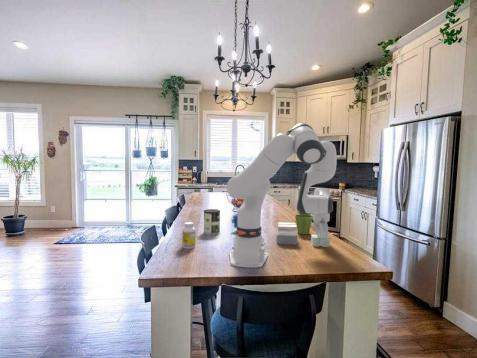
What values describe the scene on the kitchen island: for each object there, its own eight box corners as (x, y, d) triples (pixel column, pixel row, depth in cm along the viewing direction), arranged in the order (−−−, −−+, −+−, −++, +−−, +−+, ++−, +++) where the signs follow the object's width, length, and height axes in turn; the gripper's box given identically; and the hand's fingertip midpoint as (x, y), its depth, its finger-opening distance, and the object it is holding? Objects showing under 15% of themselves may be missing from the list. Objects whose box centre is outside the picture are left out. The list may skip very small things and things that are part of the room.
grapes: (232, 232, 170) (232, 214, 169) (231, 230, 177) (231, 212, 176) (250, 232, 172) (250, 213, 171) (248, 229, 178) (249, 211, 177)
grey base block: (296, 245, 147) (297, 236, 147) (276, 244, 148) (276, 235, 148) (295, 239, 158) (295, 231, 158) (276, 238, 159) (276, 230, 159)
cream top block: (296, 236, 147) (296, 227, 147) (278, 235, 149) (278, 226, 148) (294, 231, 157) (295, 222, 157) (277, 230, 158) (277, 222, 158)
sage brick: (329, 247, 144) (330, 238, 144) (312, 246, 145) (312, 237, 145) (327, 243, 150) (327, 235, 150) (310, 243, 151) (311, 234, 150)
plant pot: (315, 232, 172) (316, 215, 172) (309, 236, 163) (309, 218, 162) (298, 229, 179) (298, 213, 178) (290, 233, 169) (291, 216, 168)
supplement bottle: (179, 246, 141) (179, 222, 140) (190, 244, 146) (190, 220, 145) (187, 250, 136) (187, 225, 135) (197, 247, 141) (197, 223, 140)
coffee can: (220, 230, 175) (220, 209, 174) (219, 234, 165) (219, 212, 164) (204, 230, 175) (204, 208, 174) (202, 234, 165) (202, 211, 164)
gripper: (331, 221, 136) (330, 248, 137) (323, 213, 156) (322, 237, 157) (318, 221, 136) (317, 247, 137) (312, 213, 157) (311, 236, 158)
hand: (320, 241), depth 147 cm, fingers open, 8 cm apart
